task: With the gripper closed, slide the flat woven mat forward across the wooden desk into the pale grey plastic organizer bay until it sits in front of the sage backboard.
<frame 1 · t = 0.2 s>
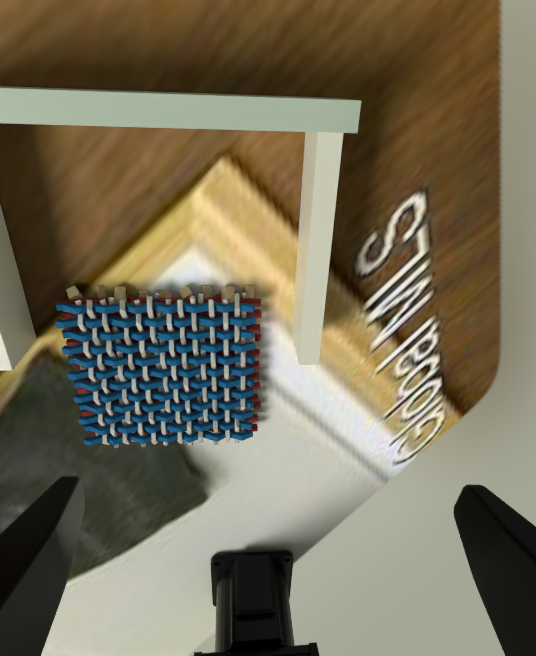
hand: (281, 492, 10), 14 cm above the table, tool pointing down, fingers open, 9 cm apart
woven mat: (171, 359, 25), on the table
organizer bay: (157, 231, 21), on the table
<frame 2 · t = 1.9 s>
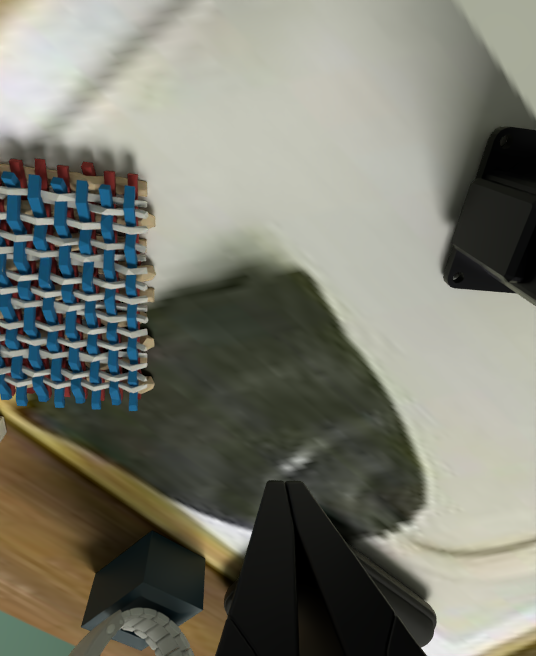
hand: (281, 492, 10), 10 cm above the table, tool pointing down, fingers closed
woven mat: (35, 280, 18), on the table
watch: (152, 563, 28), on the table
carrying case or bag: (323, 589, 31), on the table
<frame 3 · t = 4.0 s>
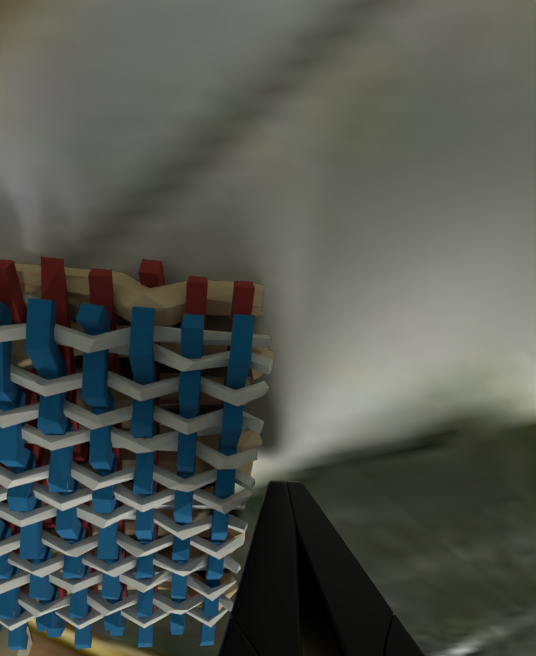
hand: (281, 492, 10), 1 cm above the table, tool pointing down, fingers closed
woven mat: (41, 441, 10), on the table, touching gripper
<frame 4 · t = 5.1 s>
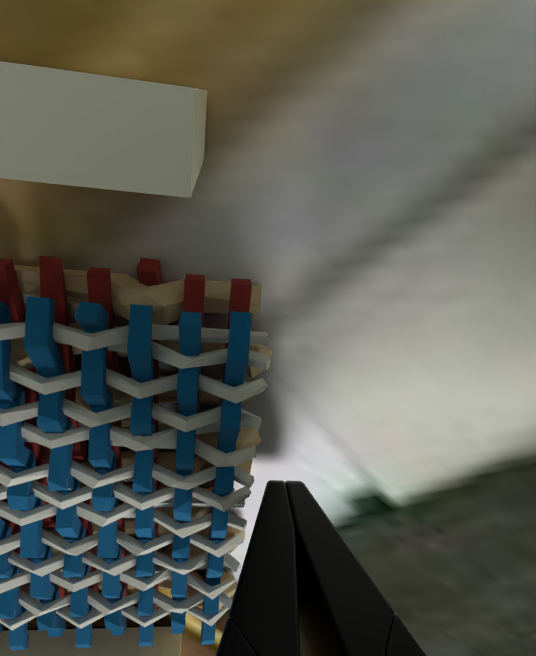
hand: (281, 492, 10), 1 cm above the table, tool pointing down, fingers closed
woven mat: (41, 441, 10), on the table
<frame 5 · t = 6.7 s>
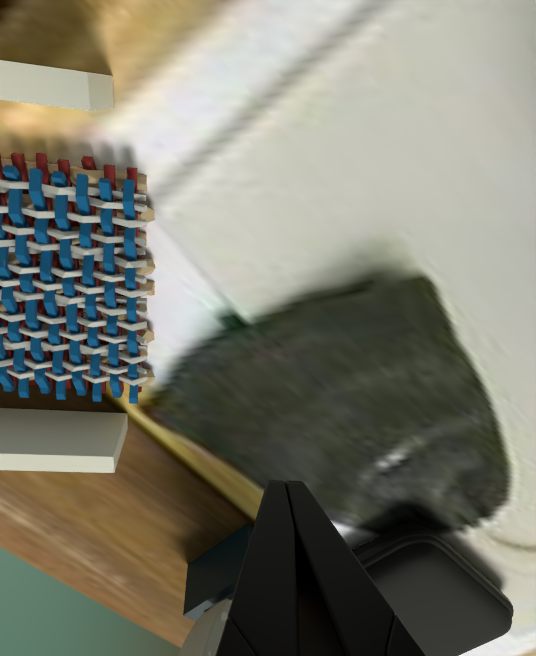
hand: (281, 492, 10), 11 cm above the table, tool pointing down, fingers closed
woven mat: (37, 273, 19), on the table
watch: (241, 555, 29), on the table
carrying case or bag: (402, 580, 32), on the table
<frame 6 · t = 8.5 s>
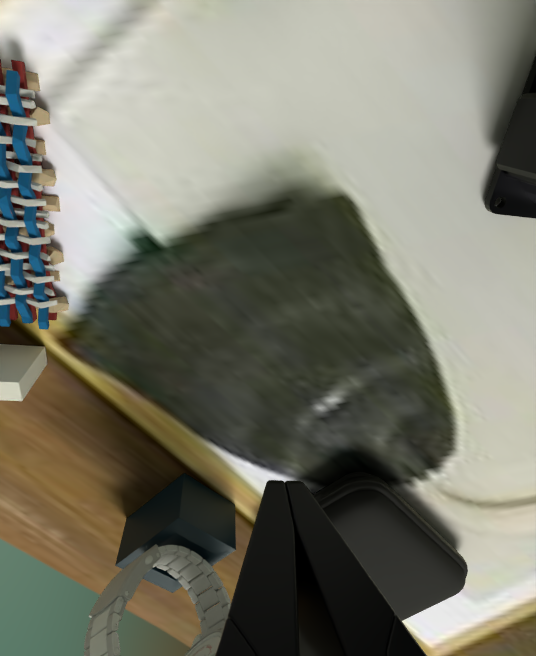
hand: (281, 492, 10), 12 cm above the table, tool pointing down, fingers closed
watch: (182, 509, 28), on the table
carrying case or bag: (355, 538, 31), on the table
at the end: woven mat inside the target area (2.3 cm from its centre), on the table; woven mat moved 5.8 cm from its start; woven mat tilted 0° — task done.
